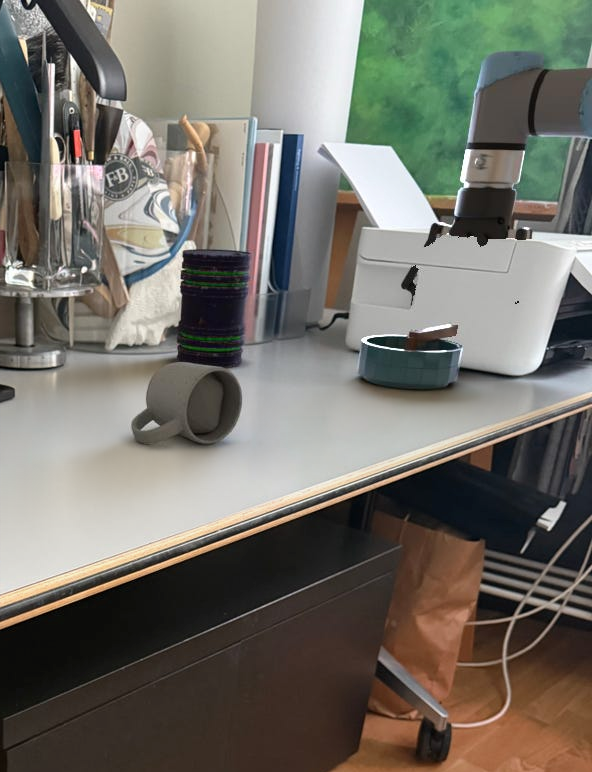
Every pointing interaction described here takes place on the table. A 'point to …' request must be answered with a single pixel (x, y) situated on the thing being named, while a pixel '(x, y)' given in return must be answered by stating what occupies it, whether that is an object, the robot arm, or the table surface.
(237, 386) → the ceramic mug
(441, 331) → the wooden crane toy
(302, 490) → the table surface
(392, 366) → the bowl
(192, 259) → the storage jar
